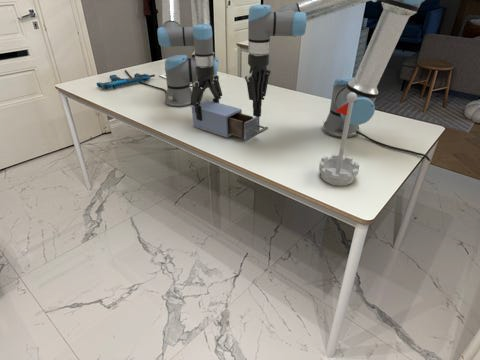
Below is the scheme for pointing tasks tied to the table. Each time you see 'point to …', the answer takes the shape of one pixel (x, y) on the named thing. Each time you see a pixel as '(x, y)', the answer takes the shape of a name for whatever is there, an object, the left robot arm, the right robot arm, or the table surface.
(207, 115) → the cabinet
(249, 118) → the drawer
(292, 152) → the table surface
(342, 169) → the flag stand
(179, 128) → the table surface
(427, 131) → the table surface
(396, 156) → the table surface
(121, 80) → the submachine gun
